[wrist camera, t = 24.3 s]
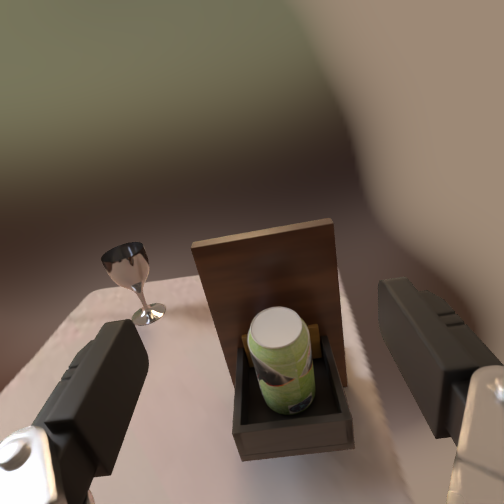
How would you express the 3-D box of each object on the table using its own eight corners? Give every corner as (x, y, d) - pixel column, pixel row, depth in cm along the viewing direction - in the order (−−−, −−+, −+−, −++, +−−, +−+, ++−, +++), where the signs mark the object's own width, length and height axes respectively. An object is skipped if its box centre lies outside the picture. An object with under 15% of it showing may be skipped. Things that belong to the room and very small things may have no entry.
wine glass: (165, 320, 65) (139, 255, 58) (126, 330, 64) (95, 266, 58) (168, 298, 72) (145, 238, 65) (133, 307, 71) (106, 248, 65)
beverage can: (304, 367, 40) (290, 287, 35) (331, 418, 33) (320, 329, 28) (255, 384, 39) (234, 305, 34) (274, 440, 33) (252, 352, 27)
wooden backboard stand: (375, 476, 33) (368, 282, 23) (234, 491, 35) (164, 315, 24) (335, 347, 50) (320, 200, 39) (240, 360, 51) (200, 222, 41)
